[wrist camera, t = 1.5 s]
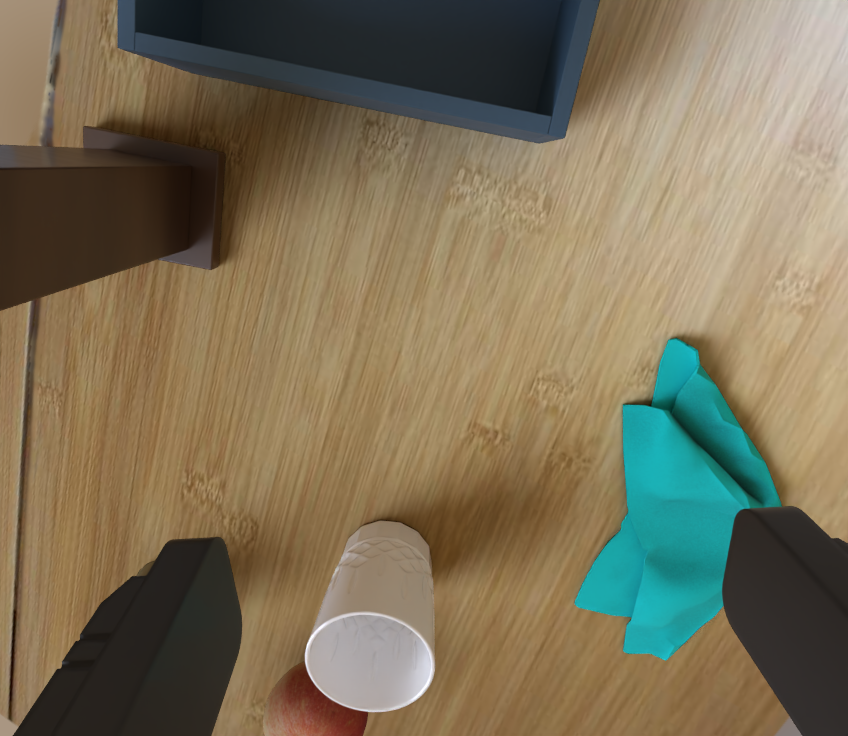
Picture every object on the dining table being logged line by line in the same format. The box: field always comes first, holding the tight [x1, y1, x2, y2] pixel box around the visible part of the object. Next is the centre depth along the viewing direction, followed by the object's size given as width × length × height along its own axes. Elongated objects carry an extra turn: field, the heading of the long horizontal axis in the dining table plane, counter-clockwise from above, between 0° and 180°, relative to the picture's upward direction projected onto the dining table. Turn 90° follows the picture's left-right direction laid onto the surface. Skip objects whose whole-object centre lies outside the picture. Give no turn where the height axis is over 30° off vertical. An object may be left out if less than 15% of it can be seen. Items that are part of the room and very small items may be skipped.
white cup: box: [305, 521, 435, 712], centre depth 39 cm, size 8×8×10 cm
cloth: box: [575, 338, 782, 661], centre depth 40 cm, size 26×14×2 cm, turn 172°
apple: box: [263, 662, 368, 736], centre depth 44 cm, size 8×8×8 cm
